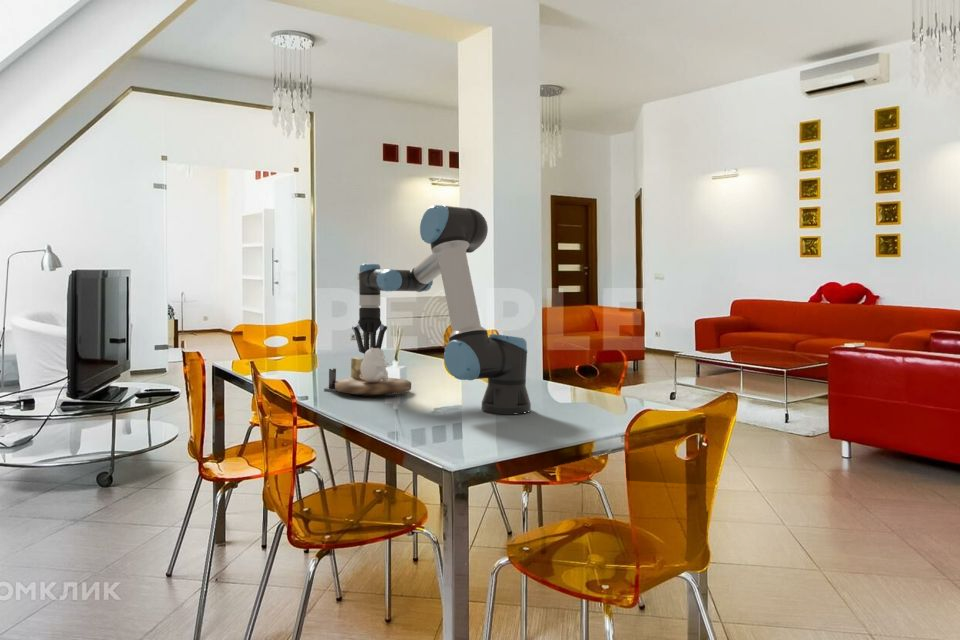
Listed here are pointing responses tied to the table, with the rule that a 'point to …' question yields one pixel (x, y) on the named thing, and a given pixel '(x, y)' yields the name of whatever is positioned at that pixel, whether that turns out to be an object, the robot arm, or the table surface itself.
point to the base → (333, 379)
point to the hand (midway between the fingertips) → (369, 372)
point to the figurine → (374, 366)
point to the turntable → (364, 387)
